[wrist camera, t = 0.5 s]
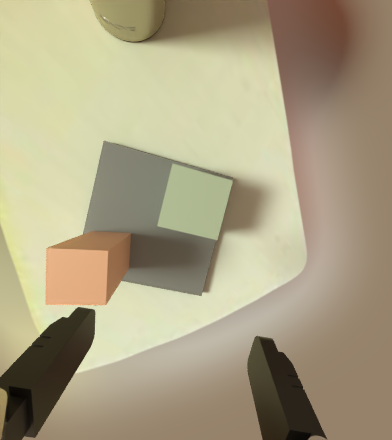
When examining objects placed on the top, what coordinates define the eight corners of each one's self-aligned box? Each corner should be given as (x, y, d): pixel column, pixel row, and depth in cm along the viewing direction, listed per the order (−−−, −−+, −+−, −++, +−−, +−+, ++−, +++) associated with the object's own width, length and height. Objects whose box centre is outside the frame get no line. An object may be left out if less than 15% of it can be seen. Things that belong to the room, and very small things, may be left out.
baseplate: (106, 142, 27) (103, 140, 26) (230, 178, 29) (232, 177, 28) (78, 269, 28) (74, 271, 27) (200, 292, 30) (201, 295, 29)
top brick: (92, 230, 27) (46, 248, 17) (130, 233, 27) (108, 250, 17) (91, 267, 27) (45, 304, 17) (129, 268, 28) (105, 305, 18)
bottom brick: (172, 171, 27) (172, 163, 21) (220, 185, 28) (233, 180, 22) (160, 220, 28) (157, 225, 22) (207, 232, 29) (217, 240, 23)
